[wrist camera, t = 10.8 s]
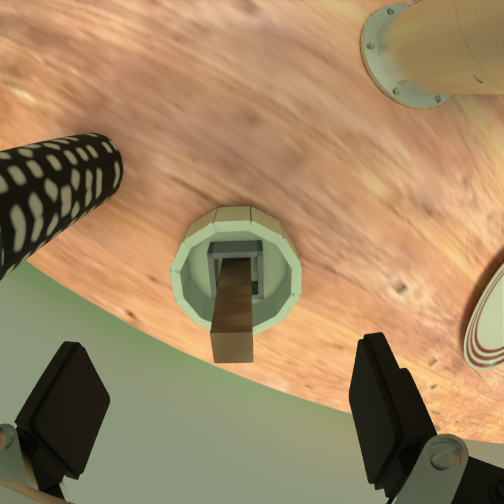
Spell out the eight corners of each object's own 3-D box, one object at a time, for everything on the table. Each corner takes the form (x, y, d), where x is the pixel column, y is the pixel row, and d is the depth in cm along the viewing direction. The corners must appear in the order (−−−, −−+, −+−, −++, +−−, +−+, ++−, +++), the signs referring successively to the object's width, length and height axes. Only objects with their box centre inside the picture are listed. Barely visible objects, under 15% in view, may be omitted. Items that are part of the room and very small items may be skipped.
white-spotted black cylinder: (137, 173, 32) (23, 244, 13) (89, 218, 34) (-20, 310, 15) (94, 117, 29) (-44, 136, 11) (50, 166, 31) (-78, 222, 13)
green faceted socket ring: (295, 204, 33) (303, 218, 29) (293, 307, 39) (298, 332, 34) (174, 209, 33) (162, 224, 29) (188, 311, 39) (181, 335, 34)
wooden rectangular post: (250, 252, 35) (252, 332, 22) (251, 276, 36) (253, 362, 23) (223, 253, 35) (210, 333, 22) (225, 277, 36) (214, 363, 23)
